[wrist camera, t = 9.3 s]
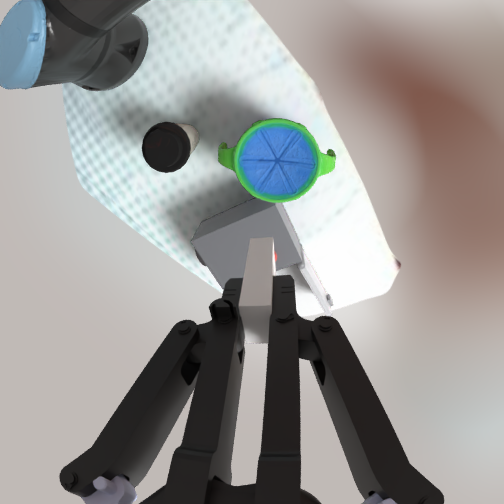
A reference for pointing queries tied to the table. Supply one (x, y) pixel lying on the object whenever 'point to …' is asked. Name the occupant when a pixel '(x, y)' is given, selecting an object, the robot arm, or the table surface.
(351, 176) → the table surface
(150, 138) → the coffee cup
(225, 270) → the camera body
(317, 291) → the door
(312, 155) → the snack cup
